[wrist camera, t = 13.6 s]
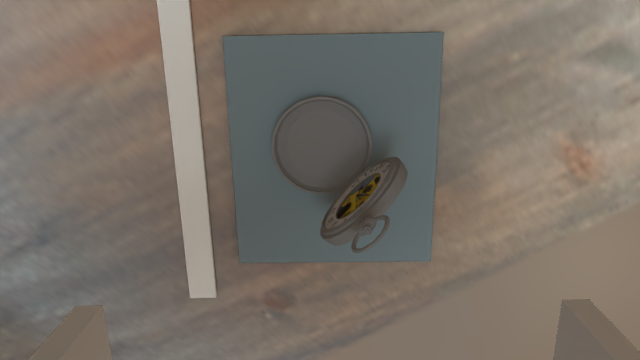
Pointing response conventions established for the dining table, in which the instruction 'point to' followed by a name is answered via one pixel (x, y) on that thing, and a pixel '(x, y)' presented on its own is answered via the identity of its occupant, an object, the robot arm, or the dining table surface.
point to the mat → (374, 106)
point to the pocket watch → (337, 167)
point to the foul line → (188, 144)
